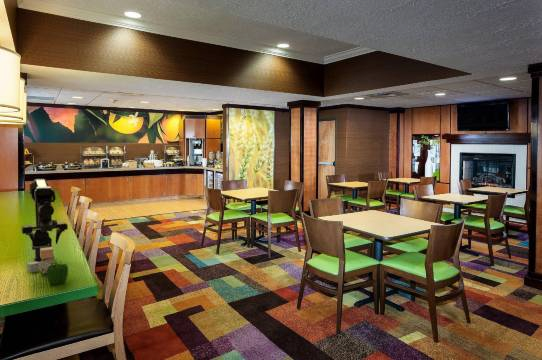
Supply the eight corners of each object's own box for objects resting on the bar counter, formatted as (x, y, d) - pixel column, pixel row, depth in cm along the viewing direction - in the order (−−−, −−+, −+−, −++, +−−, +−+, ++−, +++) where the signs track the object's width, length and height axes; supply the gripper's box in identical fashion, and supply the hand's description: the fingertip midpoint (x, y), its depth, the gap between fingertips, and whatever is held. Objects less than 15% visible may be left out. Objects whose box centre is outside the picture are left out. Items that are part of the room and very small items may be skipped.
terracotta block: (40, 256, 182) (39, 248, 181) (52, 254, 185) (51, 246, 184) (41, 259, 178) (40, 250, 177) (53, 257, 181) (53, 249, 180)
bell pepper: (63, 278, 175) (62, 257, 174) (71, 282, 170) (70, 260, 169) (43, 283, 169) (42, 261, 168) (50, 287, 163) (49, 265, 162)
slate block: (27, 271, 185) (27, 262, 184) (36, 269, 188) (36, 261, 188) (30, 272, 182) (30, 264, 182) (39, 270, 185) (39, 262, 185)
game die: (52, 279, 184) (66, 261, 186) (42, 279, 175) (57, 260, 178) (37, 269, 185) (51, 251, 187) (27, 268, 177) (42, 250, 179)
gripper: (22, 218, 171) (23, 252, 173) (69, 214, 182) (69, 246, 184) (21, 213, 180) (22, 246, 182) (65, 210, 191) (66, 241, 193)
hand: (45, 245), depth 185 cm, fingers open, 9 cm apart
